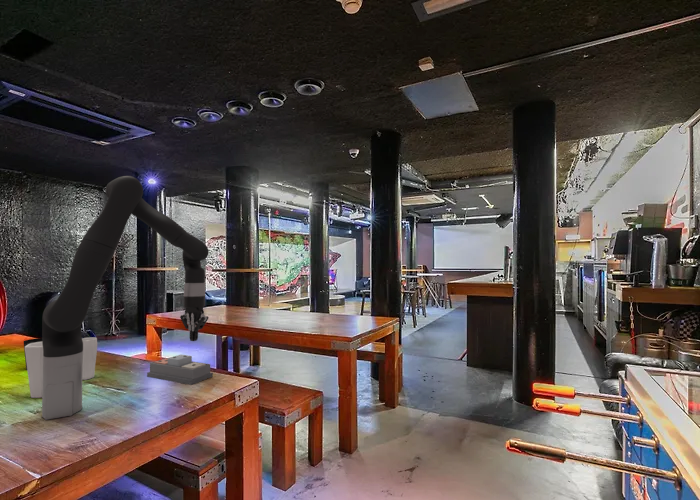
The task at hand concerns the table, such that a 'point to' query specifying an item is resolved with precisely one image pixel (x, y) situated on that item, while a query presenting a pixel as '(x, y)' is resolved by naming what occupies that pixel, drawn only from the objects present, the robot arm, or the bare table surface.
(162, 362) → the coral tile
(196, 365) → the ivory tile
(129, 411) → the table surface
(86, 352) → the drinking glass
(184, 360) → the slate tile
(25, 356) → the cup
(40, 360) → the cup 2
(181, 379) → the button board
